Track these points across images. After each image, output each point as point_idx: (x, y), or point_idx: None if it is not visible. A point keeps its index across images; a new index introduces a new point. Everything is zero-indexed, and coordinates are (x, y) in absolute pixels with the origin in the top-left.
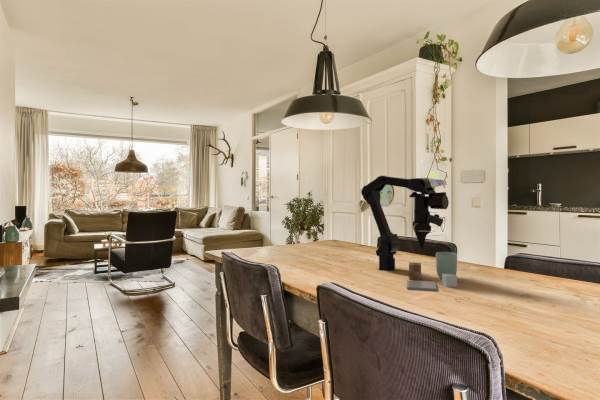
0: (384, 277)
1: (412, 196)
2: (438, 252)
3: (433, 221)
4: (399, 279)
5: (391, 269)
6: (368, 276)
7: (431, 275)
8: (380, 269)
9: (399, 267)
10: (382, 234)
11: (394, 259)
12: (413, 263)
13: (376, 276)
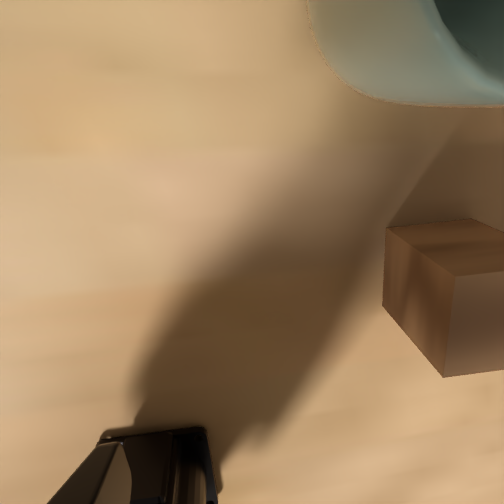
0: (419, 430)
1: None
2: (465, 52)
3: None
4: None
5: (208, 441)
6: (407, 500)
7: (286, 149)
8: (217, 493)
9: (65, 409)
10: None
11: (163, 497)
12: (491, 335)
13: (400, 469)
